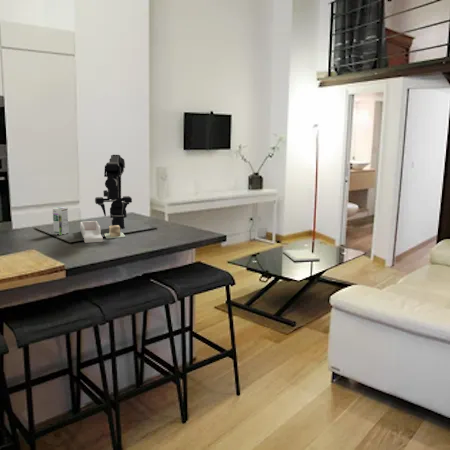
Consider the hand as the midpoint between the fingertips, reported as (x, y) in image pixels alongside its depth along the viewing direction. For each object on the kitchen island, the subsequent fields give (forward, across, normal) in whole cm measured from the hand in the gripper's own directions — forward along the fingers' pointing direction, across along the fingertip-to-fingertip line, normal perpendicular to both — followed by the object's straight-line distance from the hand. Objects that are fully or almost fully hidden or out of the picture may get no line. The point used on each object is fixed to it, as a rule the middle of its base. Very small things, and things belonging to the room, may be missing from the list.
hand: (113, 215), depth 251 cm
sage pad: (+11, 0, 0) cm, 11 cm away
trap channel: (+11, +12, -3) cm, 17 cm away
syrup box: (+11, +27, -13) cm, 32 cm away
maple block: (+11, 0, +1) cm, 11 cm away
